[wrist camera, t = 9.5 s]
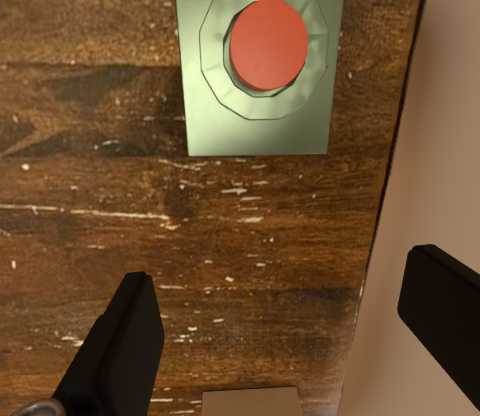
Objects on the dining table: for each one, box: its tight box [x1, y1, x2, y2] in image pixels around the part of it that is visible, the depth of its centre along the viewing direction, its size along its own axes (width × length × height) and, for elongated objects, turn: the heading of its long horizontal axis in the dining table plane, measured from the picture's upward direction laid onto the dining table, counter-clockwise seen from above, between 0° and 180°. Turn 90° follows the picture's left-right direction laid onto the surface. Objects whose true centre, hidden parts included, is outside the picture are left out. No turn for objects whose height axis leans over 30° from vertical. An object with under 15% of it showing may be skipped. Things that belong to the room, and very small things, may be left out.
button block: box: [175, 0, 344, 157], centre depth 15 cm, size 11×9×4 cm
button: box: [229, 0, 308, 92], centre depth 13 cm, size 4×4×2 cm
